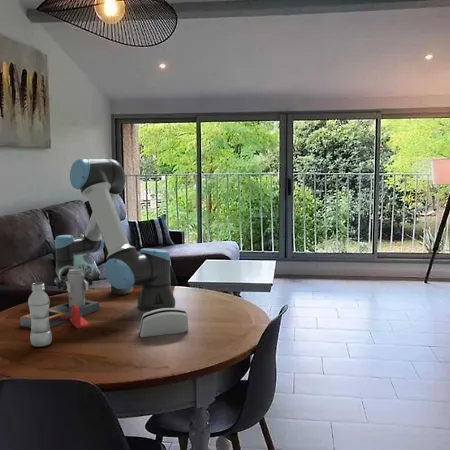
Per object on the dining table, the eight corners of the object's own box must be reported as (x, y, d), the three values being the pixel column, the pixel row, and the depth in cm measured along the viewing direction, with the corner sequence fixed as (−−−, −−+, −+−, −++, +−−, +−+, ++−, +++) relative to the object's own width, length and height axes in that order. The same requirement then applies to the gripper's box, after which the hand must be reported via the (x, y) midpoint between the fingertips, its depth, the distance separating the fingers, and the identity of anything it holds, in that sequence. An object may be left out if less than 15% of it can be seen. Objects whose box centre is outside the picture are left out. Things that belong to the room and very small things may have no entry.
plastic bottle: (40, 350, 161) (36, 287, 158) (26, 346, 165) (22, 284, 162) (56, 344, 166) (53, 283, 164) (42, 340, 170) (39, 280, 167)
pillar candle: (107, 294, 228) (106, 260, 226) (115, 288, 237) (115, 256, 235) (128, 295, 226) (128, 261, 224) (136, 289, 236) (135, 256, 233)
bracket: (90, 327, 184) (89, 305, 183) (77, 329, 182) (76, 307, 181) (80, 318, 194) (79, 298, 193) (68, 320, 192) (67, 299, 191)
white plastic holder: (185, 326, 182) (187, 303, 178) (189, 335, 178) (191, 311, 174) (138, 332, 177) (138, 308, 173) (140, 341, 173) (141, 316, 169)
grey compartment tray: (99, 309, 204) (99, 301, 203) (41, 330, 180) (41, 321, 179) (79, 306, 209) (78, 298, 209) (20, 325, 185) (20, 316, 185)
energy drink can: (69, 306, 203) (66, 268, 201) (84, 304, 205) (83, 267, 203) (69, 310, 198) (67, 271, 196) (85, 309, 199) (83, 270, 197)
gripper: (92, 282, 221) (104, 294, 200) (45, 287, 213) (52, 300, 192) (91, 264, 220) (103, 275, 199) (44, 269, 212) (51, 280, 191)
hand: (78, 287), depth 196 cm, fingers closed on energy drink can, 6 cm apart
